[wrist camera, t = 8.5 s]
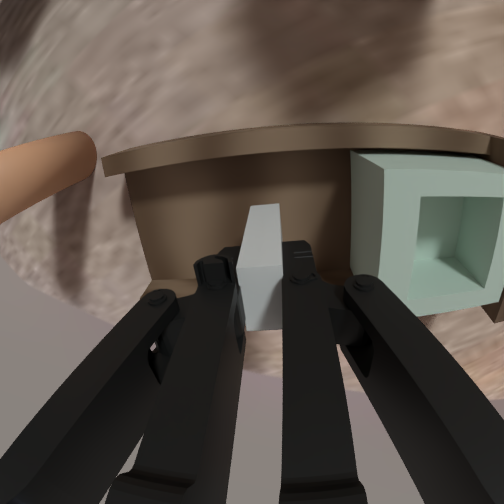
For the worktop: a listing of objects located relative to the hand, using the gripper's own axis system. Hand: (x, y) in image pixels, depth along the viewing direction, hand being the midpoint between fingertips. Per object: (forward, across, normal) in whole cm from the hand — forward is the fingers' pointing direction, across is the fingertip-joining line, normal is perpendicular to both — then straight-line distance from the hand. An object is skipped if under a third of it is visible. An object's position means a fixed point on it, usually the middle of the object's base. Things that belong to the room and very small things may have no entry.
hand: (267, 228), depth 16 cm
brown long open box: (+5, +4, 0) cm, 6 cm away
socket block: (+3, +10, 0) cm, 10 cm away
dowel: (+5, -14, +6) cm, 16 cm away
